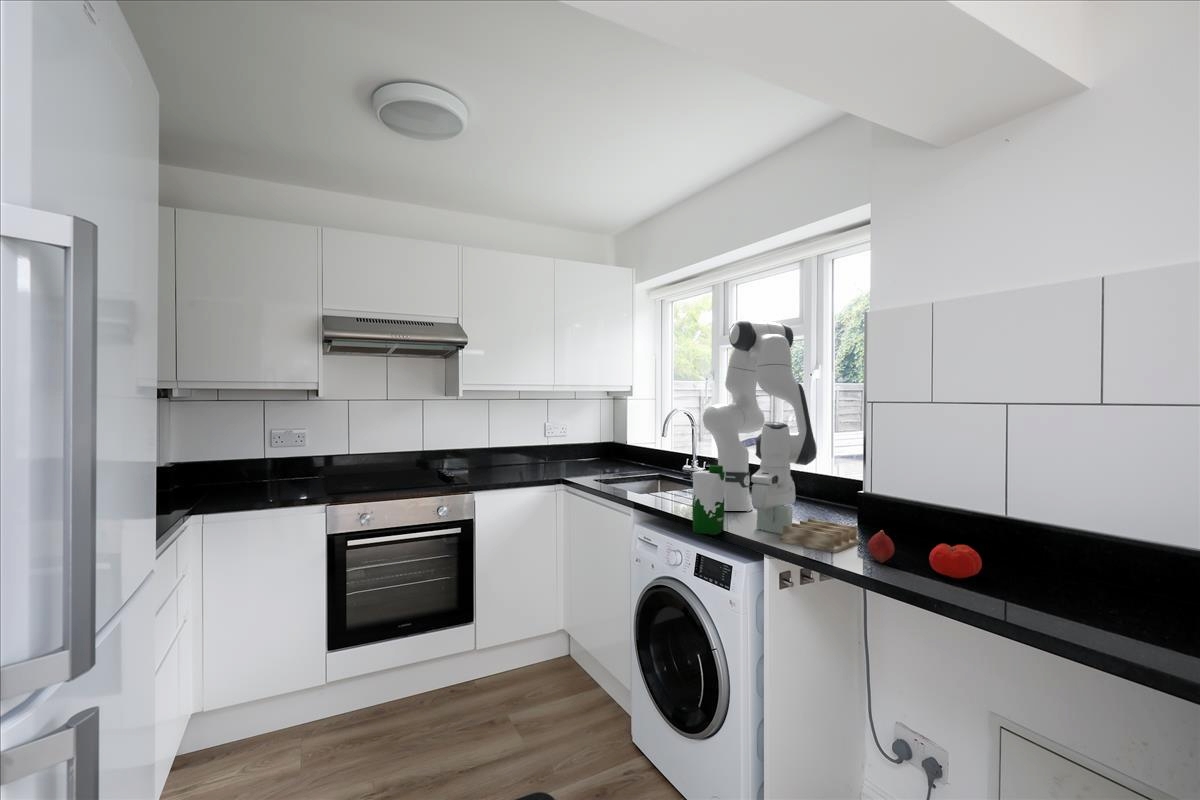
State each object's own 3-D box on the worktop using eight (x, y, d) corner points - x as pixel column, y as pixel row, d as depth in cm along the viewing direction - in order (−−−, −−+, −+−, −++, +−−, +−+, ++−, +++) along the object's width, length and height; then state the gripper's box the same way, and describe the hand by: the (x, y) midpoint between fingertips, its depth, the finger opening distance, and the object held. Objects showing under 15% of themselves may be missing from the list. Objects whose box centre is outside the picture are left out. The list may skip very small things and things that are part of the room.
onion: (862, 560, 135) (862, 528, 135) (879, 558, 137) (880, 526, 137) (882, 566, 130) (882, 533, 130) (899, 564, 132) (900, 531, 132)
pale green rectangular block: (756, 529, 168) (757, 503, 168) (761, 527, 170) (762, 502, 170) (787, 535, 160) (787, 508, 161) (791, 533, 162) (792, 506, 163)
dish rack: (779, 541, 153) (779, 525, 153) (805, 532, 164) (805, 518, 164) (836, 552, 141) (836, 535, 142) (860, 543, 152) (860, 527, 152)
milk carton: (717, 536, 157) (718, 467, 158) (688, 532, 162) (689, 465, 162) (727, 530, 165) (728, 465, 165) (699, 527, 170) (700, 463, 170)
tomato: (925, 575, 124) (925, 546, 124) (935, 565, 132) (935, 538, 132) (977, 585, 117) (977, 555, 117) (984, 574, 125) (984, 546, 126)
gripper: (782, 472, 175) (781, 515, 175) (748, 477, 161) (747, 523, 161) (800, 474, 170) (800, 518, 170) (767, 479, 156) (766, 527, 156)
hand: (774, 521), depth 165 cm, fingers closed on pale green rectangular block, 3 cm apart
